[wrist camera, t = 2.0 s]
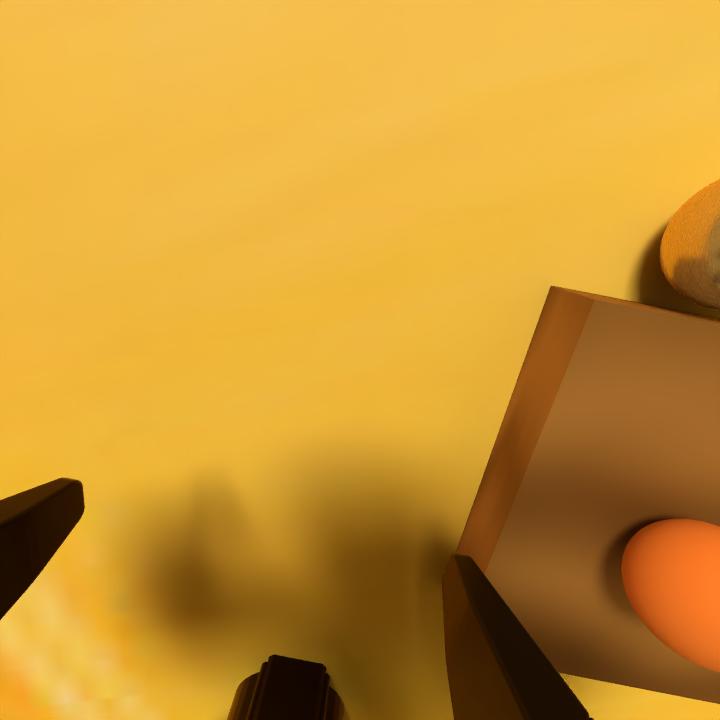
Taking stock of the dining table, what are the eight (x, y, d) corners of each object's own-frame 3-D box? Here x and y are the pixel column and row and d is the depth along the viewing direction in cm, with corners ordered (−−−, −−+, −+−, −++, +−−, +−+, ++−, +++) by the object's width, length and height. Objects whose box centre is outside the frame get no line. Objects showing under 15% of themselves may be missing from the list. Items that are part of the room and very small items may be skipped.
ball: (684, 589, 12) (797, 724, 9) (579, 568, 12) (652, 695, 9) (741, 504, 11) (894, 622, 7) (624, 482, 11) (728, 590, 7)
